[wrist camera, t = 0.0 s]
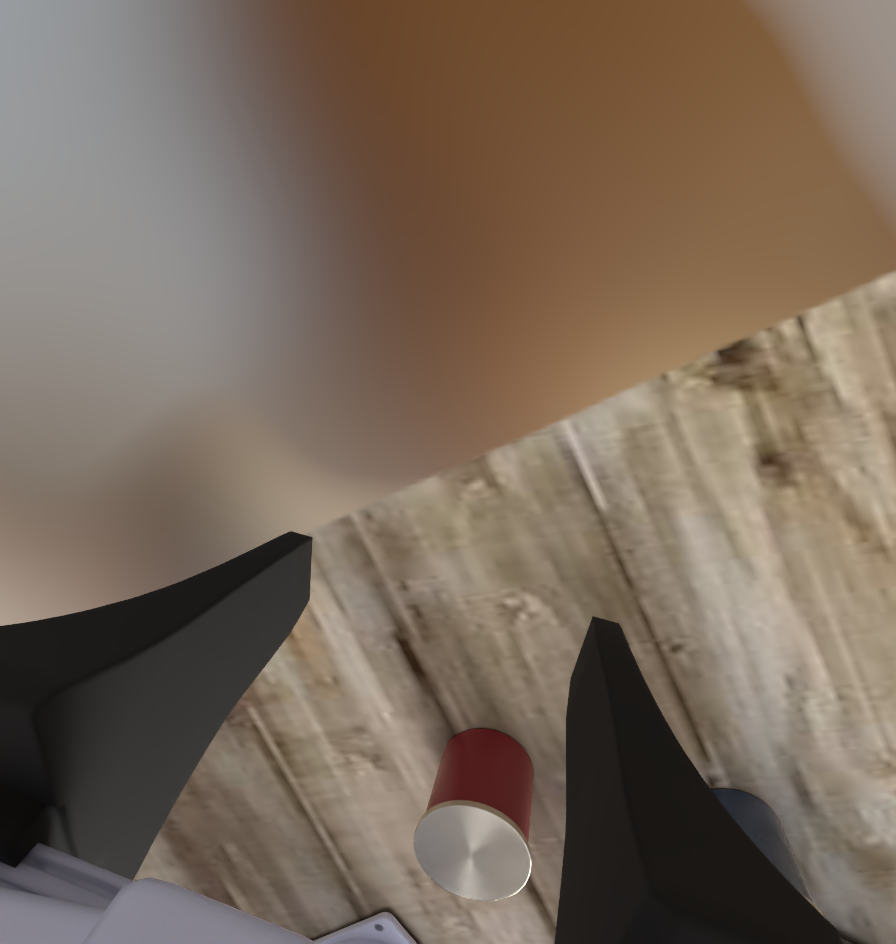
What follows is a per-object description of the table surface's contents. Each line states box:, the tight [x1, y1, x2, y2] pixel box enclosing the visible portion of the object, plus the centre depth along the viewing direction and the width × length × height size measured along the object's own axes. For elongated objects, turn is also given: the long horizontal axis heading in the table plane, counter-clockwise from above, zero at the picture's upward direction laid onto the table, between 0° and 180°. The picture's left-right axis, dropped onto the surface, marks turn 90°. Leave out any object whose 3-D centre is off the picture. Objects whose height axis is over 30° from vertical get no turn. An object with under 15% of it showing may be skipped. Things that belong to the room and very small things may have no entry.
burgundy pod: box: [414, 728, 534, 901], centre depth 25 cm, size 5×5×5 cm
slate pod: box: [711, 789, 825, 917], centre depth 23 cm, size 5×5×5 cm
